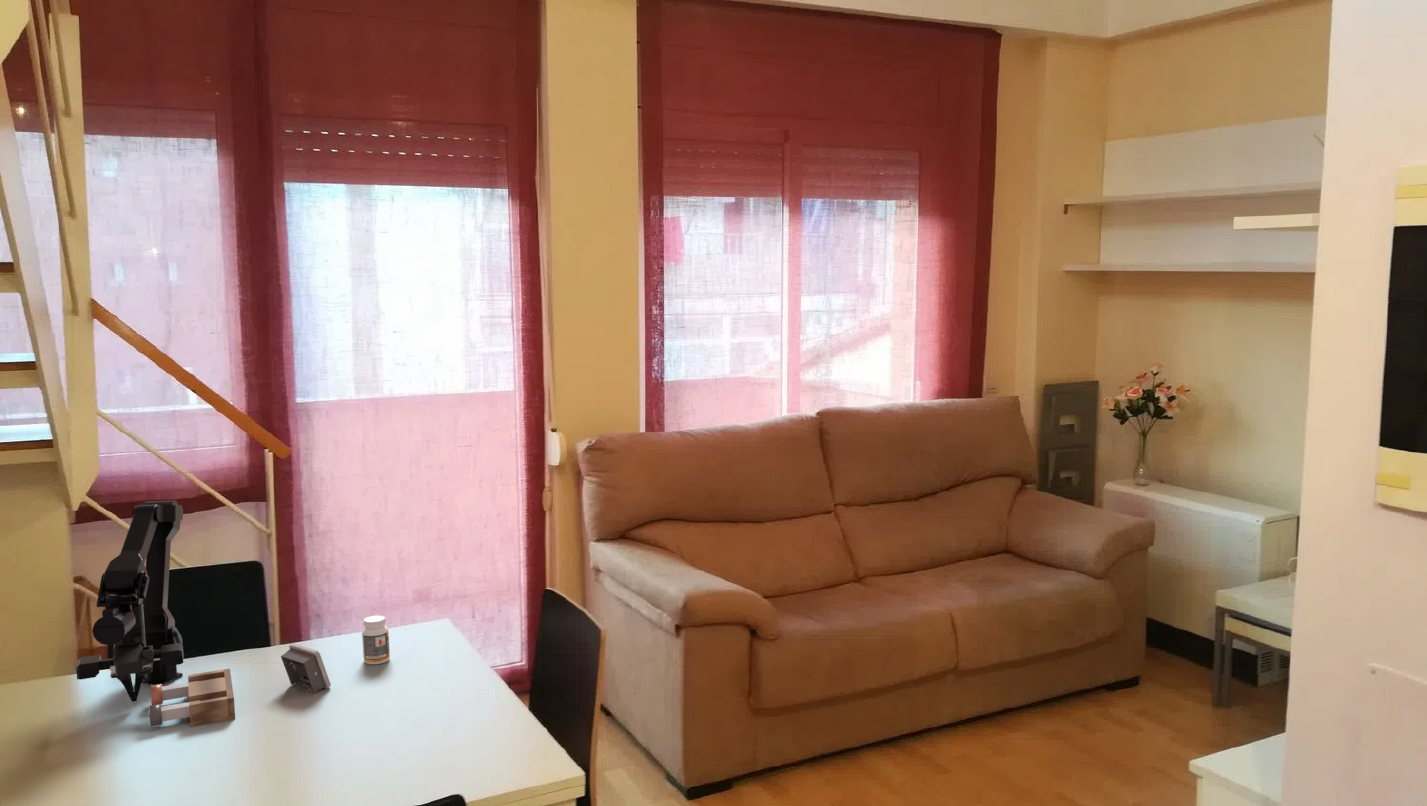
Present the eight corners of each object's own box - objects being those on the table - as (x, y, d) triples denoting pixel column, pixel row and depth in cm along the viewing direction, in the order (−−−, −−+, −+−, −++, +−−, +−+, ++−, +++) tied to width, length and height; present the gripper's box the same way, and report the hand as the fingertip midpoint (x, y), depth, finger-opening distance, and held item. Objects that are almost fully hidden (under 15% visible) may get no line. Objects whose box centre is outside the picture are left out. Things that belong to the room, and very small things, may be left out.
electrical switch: (332, 688, 226) (326, 648, 224) (311, 699, 222) (305, 658, 220) (304, 679, 231) (298, 639, 229) (283, 689, 227) (277, 649, 225)
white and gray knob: (150, 730, 205) (149, 710, 205) (151, 722, 209) (149, 702, 208) (201, 721, 209) (199, 701, 209) (200, 713, 213) (199, 694, 212)
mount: (190, 726, 208) (189, 705, 207) (189, 695, 223) (188, 675, 222) (235, 718, 211) (233, 697, 211) (231, 688, 226) (229, 668, 226)
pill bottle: (394, 660, 242) (392, 618, 240) (371, 667, 237) (369, 624, 236) (381, 654, 245) (379, 612, 244) (358, 661, 241) (356, 618, 240)
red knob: (151, 708, 215) (150, 689, 214) (152, 701, 219) (150, 682, 218) (199, 700, 219) (198, 681, 218) (199, 693, 222) (198, 675, 222)
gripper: (70, 648, 202) (77, 725, 204) (180, 632, 210) (185, 707, 212) (76, 629, 212) (82, 704, 214) (180, 615, 220) (185, 687, 222)
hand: (134, 701), depth 215 cm, fingers closed
